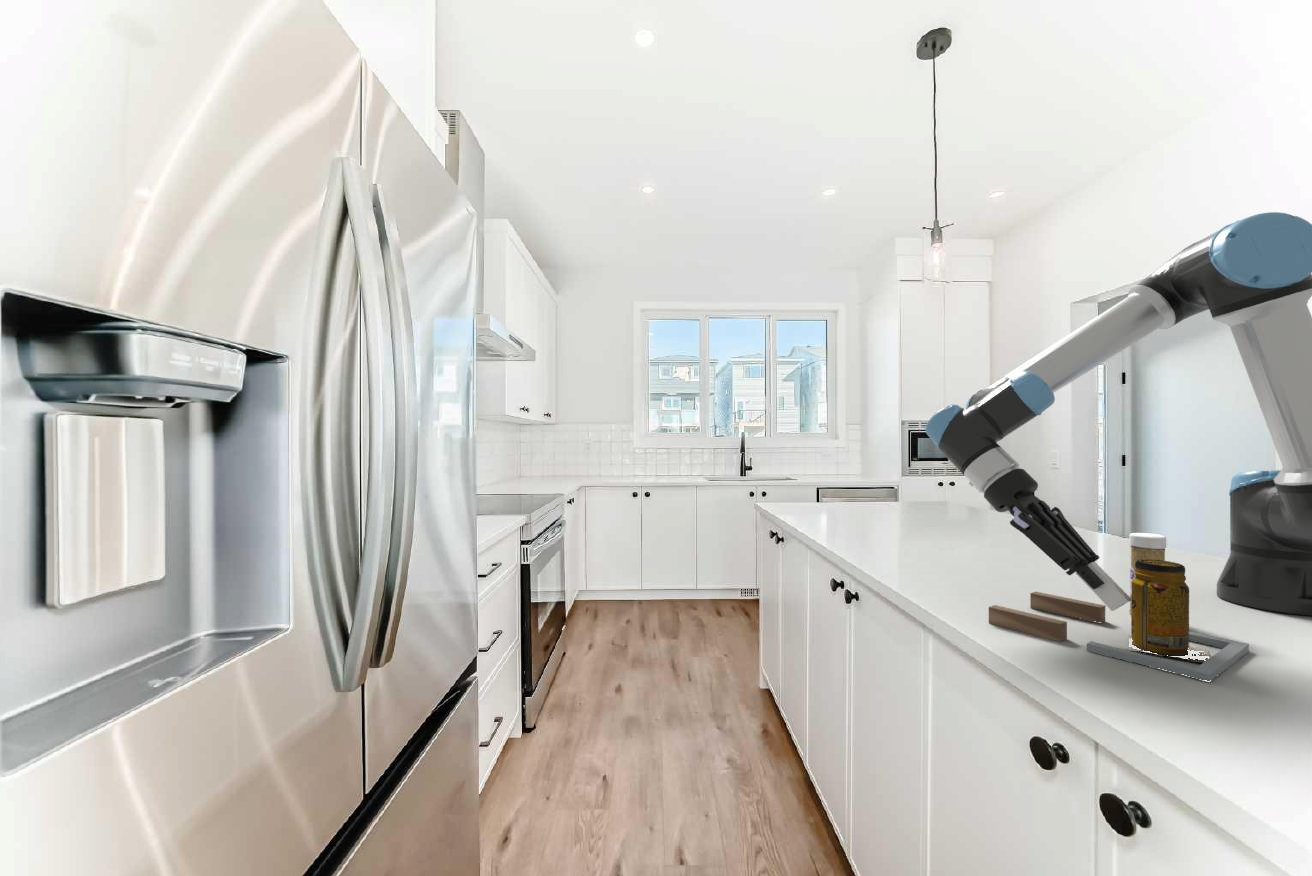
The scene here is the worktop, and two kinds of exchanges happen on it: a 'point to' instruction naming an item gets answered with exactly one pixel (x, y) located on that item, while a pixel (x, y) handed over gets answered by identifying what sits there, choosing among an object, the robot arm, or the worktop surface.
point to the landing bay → (1204, 671)
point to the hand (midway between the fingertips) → (1122, 605)
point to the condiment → (1161, 609)
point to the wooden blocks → (1045, 624)
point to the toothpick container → (1145, 551)
